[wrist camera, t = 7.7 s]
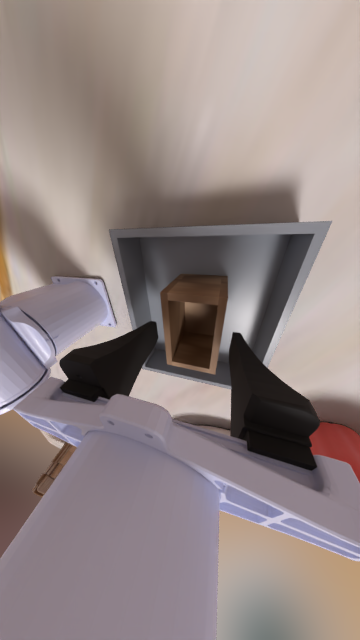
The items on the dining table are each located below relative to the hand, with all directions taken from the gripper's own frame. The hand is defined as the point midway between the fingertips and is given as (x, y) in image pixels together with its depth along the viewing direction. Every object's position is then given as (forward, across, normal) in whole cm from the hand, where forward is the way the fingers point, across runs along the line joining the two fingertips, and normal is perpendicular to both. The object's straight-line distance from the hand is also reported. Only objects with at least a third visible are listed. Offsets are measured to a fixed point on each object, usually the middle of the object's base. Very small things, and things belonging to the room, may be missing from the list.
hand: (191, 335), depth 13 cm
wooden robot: (+7, +81, +112) cm, 139 cm away
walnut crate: (+5, 0, 0) cm, 5 cm away
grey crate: (+6, 0, 0) cm, 6 cm away
